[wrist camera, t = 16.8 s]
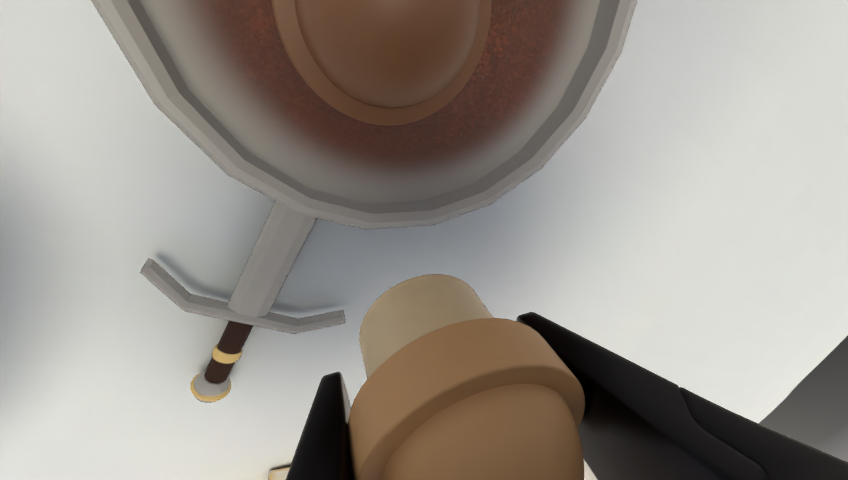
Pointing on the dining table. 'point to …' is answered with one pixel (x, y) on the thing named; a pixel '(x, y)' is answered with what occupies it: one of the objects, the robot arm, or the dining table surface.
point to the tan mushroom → (460, 392)
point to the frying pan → (354, 132)
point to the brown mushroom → (384, 52)
